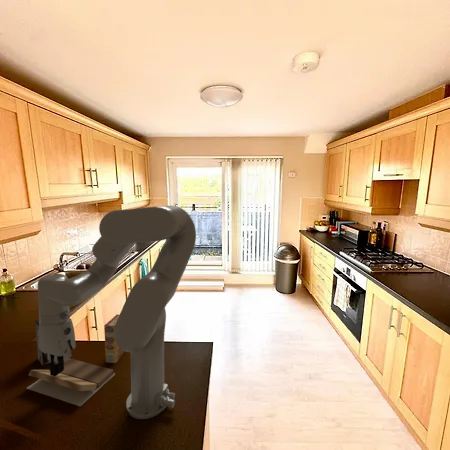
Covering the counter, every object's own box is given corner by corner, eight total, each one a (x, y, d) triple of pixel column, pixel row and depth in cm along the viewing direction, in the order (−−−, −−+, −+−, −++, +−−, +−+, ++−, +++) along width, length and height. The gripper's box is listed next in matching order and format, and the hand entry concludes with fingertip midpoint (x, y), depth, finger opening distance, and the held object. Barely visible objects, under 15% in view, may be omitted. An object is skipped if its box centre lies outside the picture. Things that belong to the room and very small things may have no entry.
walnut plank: (113, 374, 83) (113, 369, 82) (98, 387, 76) (98, 383, 76) (67, 361, 89) (67, 357, 89) (49, 373, 83) (49, 369, 82)
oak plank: (95, 389, 75) (97, 384, 76) (79, 391, 70) (82, 385, 70) (45, 374, 81) (48, 369, 82) (28, 375, 76) (30, 369, 77)
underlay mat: (115, 376, 83) (115, 373, 83) (80, 409, 70) (80, 406, 69) (67, 363, 89) (67, 360, 89) (26, 391, 76) (26, 388, 76)
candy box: (116, 365, 88) (115, 325, 87) (105, 364, 89) (103, 325, 87) (127, 350, 97) (126, 314, 96) (117, 350, 98) (116, 313, 96)
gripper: (84, 314, 74) (86, 370, 76) (49, 307, 78) (51, 360, 80) (61, 326, 67) (64, 387, 69) (23, 317, 71) (27, 375, 73)
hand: (57, 372), depth 74 cm, fingers closed
